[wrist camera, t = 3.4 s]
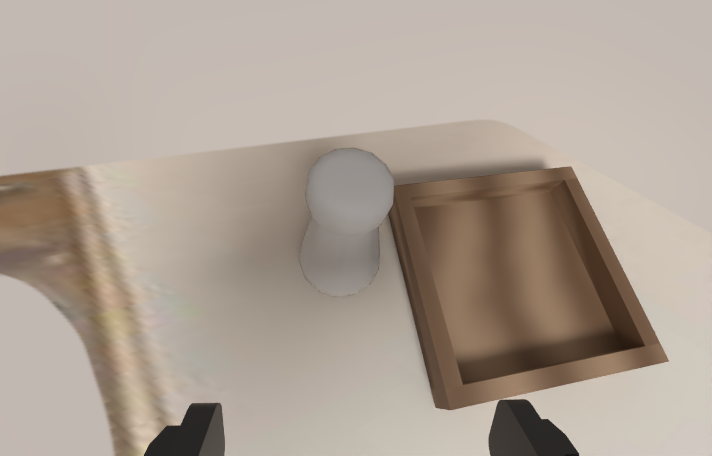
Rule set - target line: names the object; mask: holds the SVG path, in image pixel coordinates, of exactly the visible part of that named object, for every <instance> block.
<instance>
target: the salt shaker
mask: <svg viewBox="0 0 712 456" xmlns="http://www.w3.org/2000/svg"><path fill="white" fill-rule="evenodd" d="M393 195H394V179H393V177H392V175H391V173H390V171H389V169H388V167H387V165H386V164H385V163H383V162H382V161H381V160H380V159H379V158H377V157H376V156H375V155H374V154H373V153H370V152H366V151H363V150H360V149H356V148H346V149H335V150H333V151H331V152H329V153H327V154H325V155H323V156H321V157H320V158H319V159H318V160H317V162H316V163H315V164H314V165H313V167H312V168H311V169H310V171H309V174H308V178H307V186H306V193H305V196H306V201H307V204H308V207H309V210H310V212H311V215H312V217H311V220H310V222H309V225H308V228H307V231H306V234H305V237H304V239H303V242H302V247H301V253H300V260H299V261H300V264H301V267H302V270H303V273H304V276H305V278H306V279H307V280H308V281H309V282H310V283H311V284H312V285H313V286H314V287H315V288H316V289H317V290H318V291H320V292H322V293H325V294H328V295H331V296H334V297H340V296H347V295H354V294H355V293H357V292H359V291H360V290H362V289H363V288H365V287H367V286H368V285H370V284H371V282H372V280H373V278H374V276H375V275H376V273H377V271H378V269H379V257H380V246H379V227H378V226H380V225H381V224H382V222H383V220H384V219H385V217H386V215H387V214H388V212H389V210H390V209H391V207H392V205H393Z"/></svg>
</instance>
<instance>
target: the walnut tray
mask: <svg viewBox="0 0 712 456" xmlns="http://www.w3.org/2000/svg"><path fill="white" fill-rule="evenodd" d="M388 214H389V218H390V222H391V226H392V230H393V235H394V239H395V243H396V247H397V251H398V255H399V259H400V263H401V267H402V271H403V276H404V280H405V284H406V288H407V292H408V296H409V300H410V304H411V308H412V312H413V316H414V321H415V325H416V329H417V333H418V337H419V341H420V345H421V349H422V353H423V357H424V362H425V366H426V370H427V374H428V378H429V382H430V386H431V390H432V394H433V398H434V402H435V407H436V408H440V409H447V410H454V409H458V408H463V407H467V406H471V405H476V404H480V403H485V402H489V401H494V400H498V399H503V398H507V397H512V396H516V395H521V394H525V393H530V392H534V391H539V390H543V389H547V388H552V387H556V386H561V385H565V384H570V383H574V382H579V381H583V380H588V379H592V378H597V377H601V376H606V375H610V374H615V373H619V372H623V371H628V370H632V369H637V368H641V367H646V366H650V365H655V364H659V363H664V362H668V361H669V360H668V358H667V356H666V354H665V352H664V350H663V348H662V346H661V344H660V342H659V340H658V338H657V336H656V334H655V332H654V330H653V328H652V326H651V324H650V322H649V320H648V318H647V316H646V314H645V312H644V310H643V308H642V306H641V304H640V302H639V300H638V298H637V296H636V294H635V292H634V290H633V288H632V286H631V284H630V282H629V280H628V278H627V276H626V274H625V273H624V271H623V269H622V267H621V265H620V263H619V261H618V259H617V257H616V255H615V253H614V251H613V249H612V247H611V245H610V243H609V241H608V239H607V237H606V235H605V233H604V231H603V229H602V227H601V225H600V223H599V221H598V219H597V217H596V215H595V213H594V211H593V209H592V207H591V205H590V203H589V201H588V199H587V197H586V195H585V193H584V191H583V189H582V187H581V185H580V183H579V181H578V179H577V177H576V175H575V173H574V171H573V169H572V167H561V168H552V169H543V170H534V171H525V172H516V173H507V174H498V175H489V176H480V177H470V178H461V179H452V180H443V181H434V182H425V183H416V184H407V185H398V186H394V195H393V205H392V207H391V209H390V210H389V212H388Z"/></svg>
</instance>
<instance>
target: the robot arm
mask: <svg viewBox="0 0 712 456" xmlns="http://www.w3.org/2000/svg"><path fill="white" fill-rule="evenodd" d="M489 450H490V455H491V456H579V453H578V452H577V450H576V449H575V447H574V446H573V445H572V443H571V442H570V440H569V439H568V437H567V436H566V435H565V434H564V433H563V432H562V431H561V430H560V429H558V428H557V427H556V426H555V425H554V424H553V423H552V422H551V421H549V420H548V419H541V418H540V416H539V415H538V413H537V412H536V410H535V409H534V407H533V406H532V405H531V403H530V402H529V401H527V400H525V399H520V400H500V401H499V402H498V404H497V407H496V411H495V415H494V419H493V422H492V426H491V430H490V434H489ZM224 451H225V437H224V427H223V416H222V406H221V404H220V403H192V404H191V405H190V406H189V408H188V410H187V412H186V414H185V417H184V419H183V421H182V423H181V426H166V427H165V428H164V429H163V431H162V432H161V433H160V434H159V435H158V436H157V437H156V438H155V439H154V440H153V441H152V442H151V443H150V444H149V446H148V448H147V450H146V452H145V454H144V456H224Z"/></svg>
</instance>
